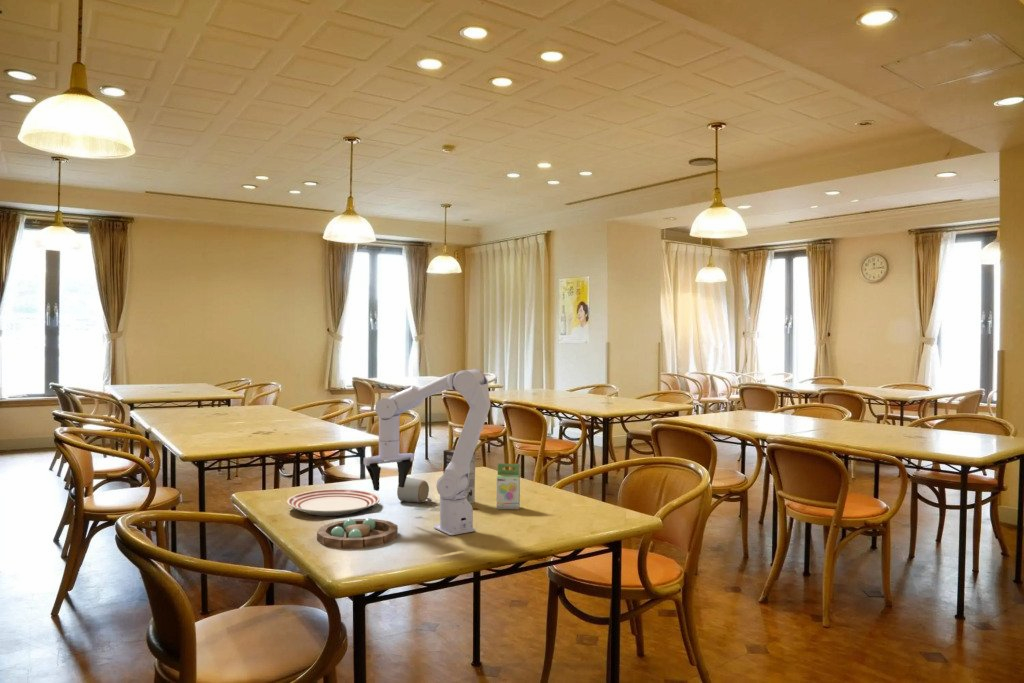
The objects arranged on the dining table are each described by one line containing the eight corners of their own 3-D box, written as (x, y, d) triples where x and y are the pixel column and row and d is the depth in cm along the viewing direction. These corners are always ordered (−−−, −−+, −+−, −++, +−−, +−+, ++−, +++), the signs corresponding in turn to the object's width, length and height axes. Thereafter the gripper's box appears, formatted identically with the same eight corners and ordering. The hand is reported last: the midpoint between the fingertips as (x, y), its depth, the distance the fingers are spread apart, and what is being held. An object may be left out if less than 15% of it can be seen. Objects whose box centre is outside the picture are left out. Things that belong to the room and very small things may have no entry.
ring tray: (410, 541, 181) (410, 530, 181) (335, 555, 169) (335, 543, 169) (377, 524, 197) (377, 513, 197) (307, 535, 186) (307, 524, 186)
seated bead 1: (346, 540, 180) (346, 527, 180) (333, 542, 178) (333, 529, 178) (341, 537, 183) (341, 524, 183) (328, 539, 181) (328, 526, 181)
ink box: (496, 509, 215) (496, 465, 215) (497, 506, 219) (497, 463, 219) (519, 510, 215) (519, 466, 215) (519, 506, 219) (520, 463, 218)
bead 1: (354, 529, 190) (354, 516, 190) (357, 532, 187) (357, 519, 187) (341, 530, 189) (342, 517, 189) (344, 533, 186) (344, 520, 186)
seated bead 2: (364, 543, 177) (364, 529, 177) (351, 545, 176) (351, 531, 175) (358, 540, 180) (358, 526, 180) (346, 542, 178) (346, 528, 178)
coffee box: (442, 500, 227) (442, 450, 226) (458, 497, 231) (458, 448, 231) (459, 505, 220) (459, 453, 220) (475, 502, 224) (476, 451, 224)
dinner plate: (397, 503, 223) (397, 493, 223) (342, 524, 198) (342, 512, 198) (327, 495, 234) (327, 485, 234) (266, 514, 209) (267, 502, 209)
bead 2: (373, 531, 190) (379, 520, 190) (369, 534, 187) (375, 523, 187) (362, 525, 191) (368, 514, 191) (358, 528, 187) (364, 517, 187)
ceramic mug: (420, 505, 220) (420, 480, 220) (396, 503, 222) (396, 478, 223) (434, 498, 230) (434, 475, 230) (411, 496, 233) (411, 473, 233)
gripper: (406, 436, 205) (405, 483, 206) (359, 440, 197) (358, 489, 197) (417, 439, 200) (417, 487, 200) (369, 443, 191) (369, 493, 191)
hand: (389, 488), depth 198 cm, fingers open, 7 cm apart
